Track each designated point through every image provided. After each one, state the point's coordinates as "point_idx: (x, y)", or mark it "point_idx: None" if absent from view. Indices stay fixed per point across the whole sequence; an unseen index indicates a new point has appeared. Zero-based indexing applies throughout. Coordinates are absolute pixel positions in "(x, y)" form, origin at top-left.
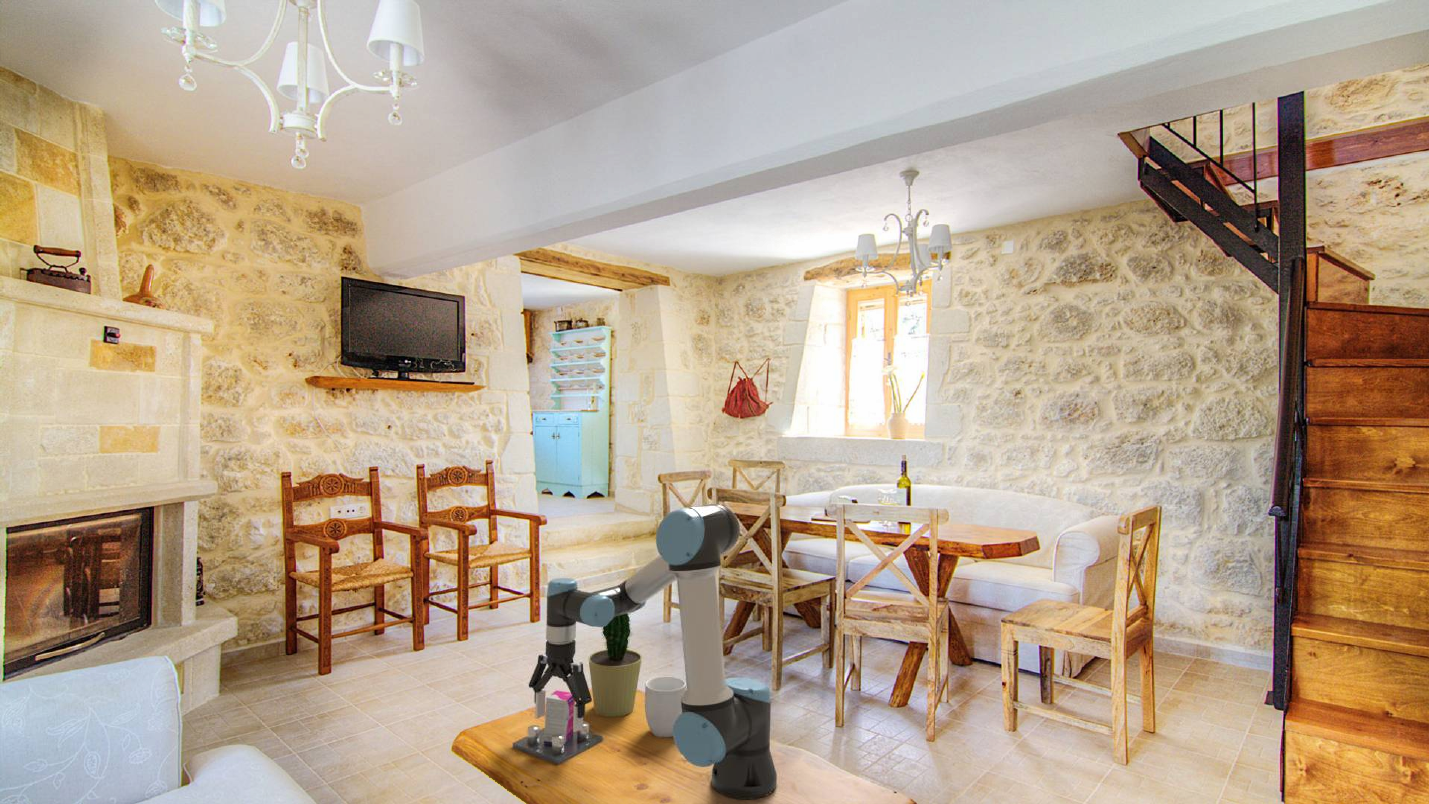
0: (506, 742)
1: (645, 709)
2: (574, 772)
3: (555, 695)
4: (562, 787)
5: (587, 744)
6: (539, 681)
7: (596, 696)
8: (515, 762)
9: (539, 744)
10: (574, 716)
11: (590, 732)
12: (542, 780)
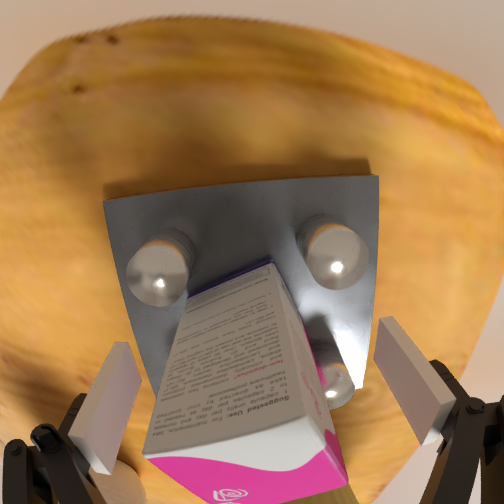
0: (415, 187)
1: (111, 502)
2: (39, 209)
3: (282, 466)
4: (3, 128)
5: (141, 352)
6: (469, 471)
7: (317, 497)
8: (254, 95)
9: (279, 240)
10: (97, 390)
11: None
12: (66, 97)
